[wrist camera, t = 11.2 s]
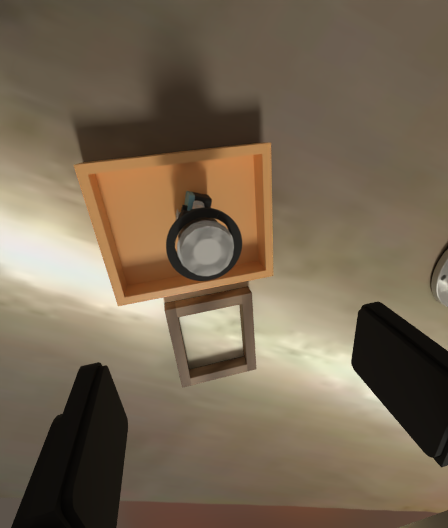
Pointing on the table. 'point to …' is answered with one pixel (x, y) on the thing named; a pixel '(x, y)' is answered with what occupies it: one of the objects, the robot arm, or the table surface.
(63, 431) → the robot arm
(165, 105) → the table surface
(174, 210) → the parts tray
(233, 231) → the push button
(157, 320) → the table surface
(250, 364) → the component holder
